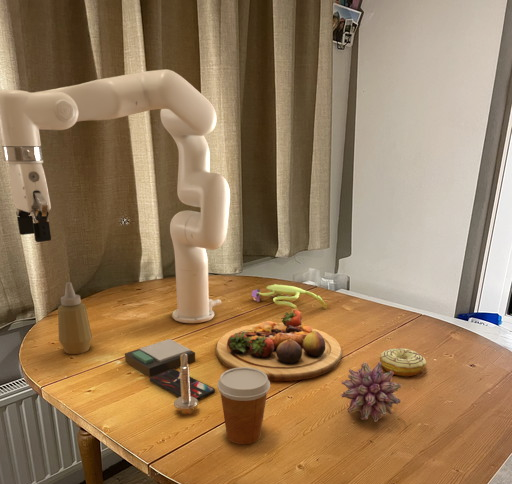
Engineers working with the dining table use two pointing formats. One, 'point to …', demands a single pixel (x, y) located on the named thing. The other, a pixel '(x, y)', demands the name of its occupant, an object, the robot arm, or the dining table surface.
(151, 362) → the scale
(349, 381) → the flower
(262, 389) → the disposable coffee cup
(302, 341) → the wooden plate
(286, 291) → the figurine
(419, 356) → the decorated donut
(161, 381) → the smartphone
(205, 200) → the robot arm
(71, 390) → the dining table surface
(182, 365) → the screw
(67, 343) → the squeeze bottle
